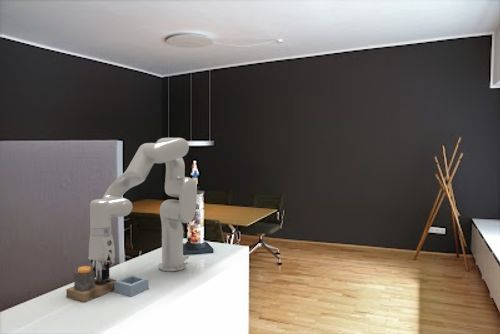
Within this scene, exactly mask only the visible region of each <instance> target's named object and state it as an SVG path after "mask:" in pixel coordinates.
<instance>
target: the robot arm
mask: <svg viewBox="0 0 500 334" xmlns="http://www.w3.org/2000/svg"><path fill="white" fill-rule="evenodd" d="M189 149H190V145H189V143H188V141H187V140H186V139H185V138H182V137H162V138H159V139H157V141H156V142H147V143H146V142H145V143H143V144H141V145H140V146H139V147H138V149H137V151H136V152H135V155H134V156H133V158H132V160H131V161H130V163H129V165H128V167H127V168H126V170H125V171H124V172H123V173H121V175H119V177H117V178H116V179H115V180H114V181H112V182H111V184H109V186H108V188H107V189H106V191H105V193H104V195H103V196H102V198H100V199H99V198H97V199H93V200H91V202H90V203H89V211H90V212H89V216H90V217H89V223H90V224H89V225H90V227H89V228H90V232H89V242H88V256H87V258H88V259H89V261H90V263H91V268H92V271H94V272H95V279H96V260H97V261H100V262H102V267H103V270H102V280H105V279H108V278H110V269H111V267H112V266H113V265H114V264H115V263H116V262H115V261H116V260H115V259H116V258H115V257H116V251H115V250H116V248H115V242H114V241H115V240H114V237H113V234H112V218H122V217H126V216H128V215H130V214H131V212H132V210H133V203H132V201H130V199H127V198H125V197H123V196H124V194H125V193H126V192H127V191H128V190H131V189H132V188H133V187H136V186H139V185H140V184H142V183H144V182H145V181H146V179H147V177H148V175H149V174H150V171H151V169H152V167H154V164H165V179H164V180H165V181H164V192H165V194H166V195H167V196H170V197H173V198H178V200H177V199H173V198H172V199H166V200H164V201H163V202H161V204H160V206H159V216H160V222H161V263H160V264H158V269H159V270H160V271H161V272H162V271H163V272H178V271H182V270H184V269H186V267H187V263H186V262H185V261H186V260H189V255H188V254H186V255H184V227H183V224H188V223H190V222H192V221H193V219H194V217H195V215H196V208H197V196H198V186H197V184H196V181H195V180H194V179H193V178H191V177H188V176H185V173H186V171H185V168H186V167H185V166H186V165H185V160H184V158H183V157H185V156H186V155H187V154H188V152H189ZM105 263H107V264H106V265H105Z"/></svg>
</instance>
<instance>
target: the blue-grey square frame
mask: <svg viewBox="0 0 500 334" xmlns="http://www.w3.org/2000/svg"><path fill="white" fill-rule="evenodd" d="M116 280H117V281H114V291H113V292H114V293H117V294H120V295H125V296H128V297H133V296H135V295H138V294H140V293H143V292H145V291H147V290H149V278H147V277H142V276H137V275H135V274H131V275H127V276H126V277H123V278H120V279H116Z"/></svg>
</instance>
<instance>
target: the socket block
mask: <svg viewBox="0 0 500 334" xmlns="http://www.w3.org/2000/svg"><path fill="white" fill-rule="evenodd" d="M73 274H74V275H73V277H74V278H73V279H74V281H73V282H74V284H73V285H74V286H71V287H69V288H66V290H65V291H66V298H69V299H72V300H75V301H78V302H81V303H87V302H89V301H92V300H95V299H97V298H99V297H101V296H104V295H107V294H110V293H112V292H114V281H117V280H118V279H113V278H110V277H109V278H108V279H107V283H106V284H103V285H97V284H96V278H95V272H94V271H93V270H91V272H89V273H86V274H80V273H78V271H76V272H74V273H73Z"/></svg>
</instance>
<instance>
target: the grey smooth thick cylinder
mask: <svg viewBox="0 0 500 334" xmlns="http://www.w3.org/2000/svg"><path fill="white" fill-rule="evenodd" d="M106 264H107V263H105V265H106ZM102 270H103V267H102V262H100V261H97V260H96V278H95V279H96V284H97V285H103V284H106V283H107V279H105V280H102Z"/></svg>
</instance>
